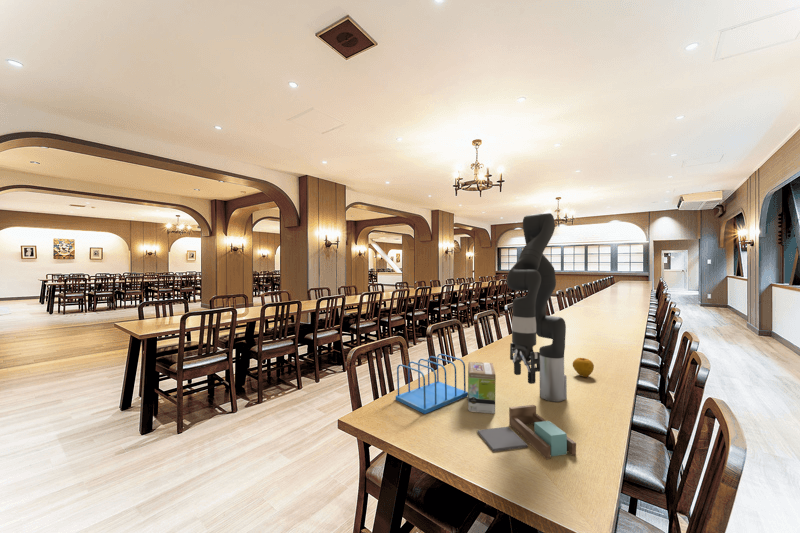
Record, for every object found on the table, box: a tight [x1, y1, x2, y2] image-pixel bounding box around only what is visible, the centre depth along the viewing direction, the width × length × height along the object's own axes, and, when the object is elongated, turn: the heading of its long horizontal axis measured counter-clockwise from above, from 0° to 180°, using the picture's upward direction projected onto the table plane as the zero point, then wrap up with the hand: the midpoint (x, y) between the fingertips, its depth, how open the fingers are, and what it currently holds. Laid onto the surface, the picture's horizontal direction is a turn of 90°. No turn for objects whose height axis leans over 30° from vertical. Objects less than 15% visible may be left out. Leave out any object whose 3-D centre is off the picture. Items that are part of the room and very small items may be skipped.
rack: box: [508, 404, 577, 460], centre depth 102 cm, size 9×20×6 cm, turn 11°
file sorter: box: [395, 353, 468, 415], centre depth 133 cm, size 25×17×15 cm
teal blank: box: [533, 420, 568, 457], centre depth 97 cm, size 5×8×6 cm, turn 11°
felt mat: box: [477, 426, 528, 452], centre depth 101 cm, size 11×11×1 cm
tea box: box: [467, 361, 497, 414], centre depth 127 cm, size 15×10×15 cm, turn 168°
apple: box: [572, 357, 595, 378], centre depth 158 cm, size 9×9×9 cm
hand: (524, 378), depth 107 cm, fingers open, 8 cm apart
